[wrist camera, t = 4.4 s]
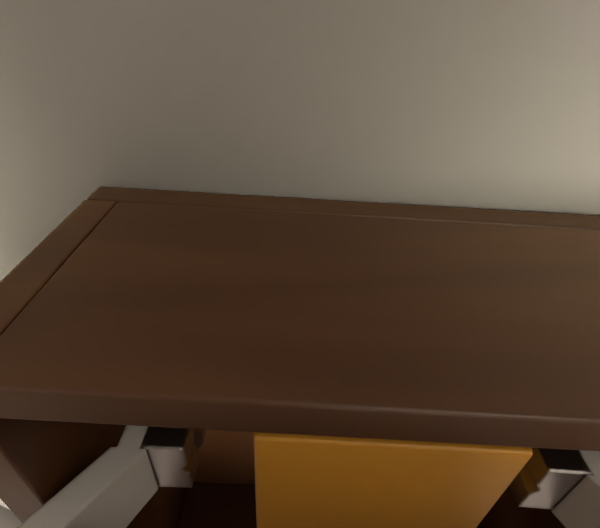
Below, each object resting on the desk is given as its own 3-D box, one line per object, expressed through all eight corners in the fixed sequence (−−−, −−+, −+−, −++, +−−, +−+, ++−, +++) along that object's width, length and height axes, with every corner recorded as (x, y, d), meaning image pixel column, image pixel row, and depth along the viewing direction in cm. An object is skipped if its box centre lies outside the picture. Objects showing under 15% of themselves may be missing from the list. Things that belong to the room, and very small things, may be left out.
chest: (98, 185, 10) (-108, 382, 5) (642, 217, 10) (951, 441, 5) (178, 471, 20) (130, 643, 15) (466, 487, 20) (519, 664, 15)
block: (275, 267, 11) (252, 438, 7) (454, 277, 11) (536, 454, 7) (273, 380, 14) (256, 546, 10) (414, 388, 14) (455, 556, 10)
